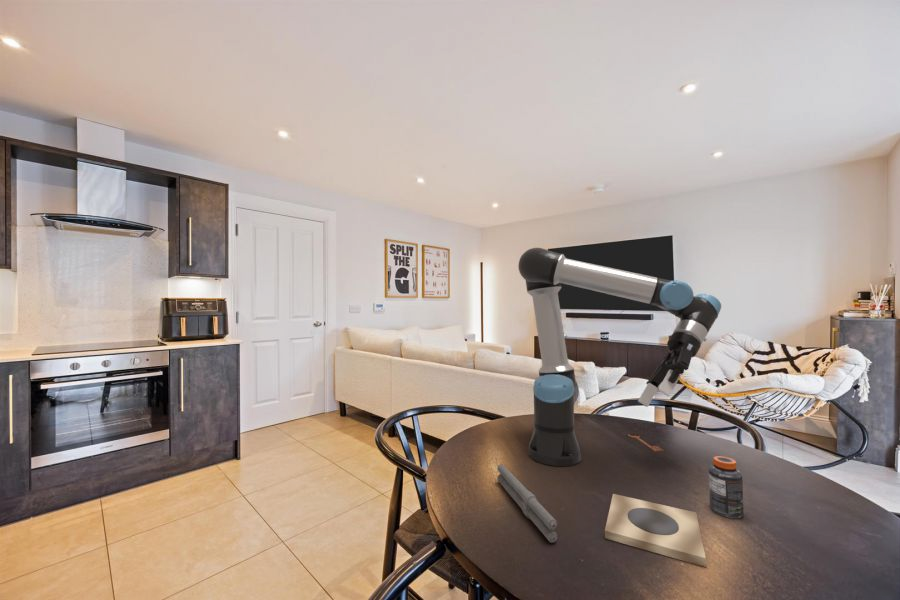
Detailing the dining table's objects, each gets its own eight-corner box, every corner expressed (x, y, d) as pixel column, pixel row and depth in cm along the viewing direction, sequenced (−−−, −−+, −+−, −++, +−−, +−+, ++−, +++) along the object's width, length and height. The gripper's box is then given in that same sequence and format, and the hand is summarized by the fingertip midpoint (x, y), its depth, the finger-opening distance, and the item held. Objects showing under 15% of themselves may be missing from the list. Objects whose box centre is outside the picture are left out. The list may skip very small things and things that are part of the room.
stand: (604, 538, 70) (604, 529, 70) (613, 500, 84) (612, 492, 84) (705, 567, 62) (705, 557, 62) (696, 519, 76) (696, 511, 76)
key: (668, 453, 112) (642, 436, 127) (668, 450, 112) (642, 433, 127) (650, 452, 112) (626, 435, 127) (650, 449, 112) (626, 432, 127)
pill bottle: (739, 507, 80) (737, 456, 81) (747, 522, 75) (746, 466, 75) (706, 501, 83) (705, 452, 83) (712, 515, 77) (711, 461, 78)
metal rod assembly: (495, 483, 92) (495, 463, 93) (505, 482, 93) (505, 462, 93) (547, 547, 68) (547, 520, 68) (560, 544, 68) (560, 518, 68)
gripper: (725, 330, 91) (689, 397, 84) (678, 360, 113) (647, 415, 106) (695, 313, 93) (658, 377, 87) (655, 346, 116) (623, 399, 109)
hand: (652, 398), depth 97 cm, fingers open, 13 cm apart
